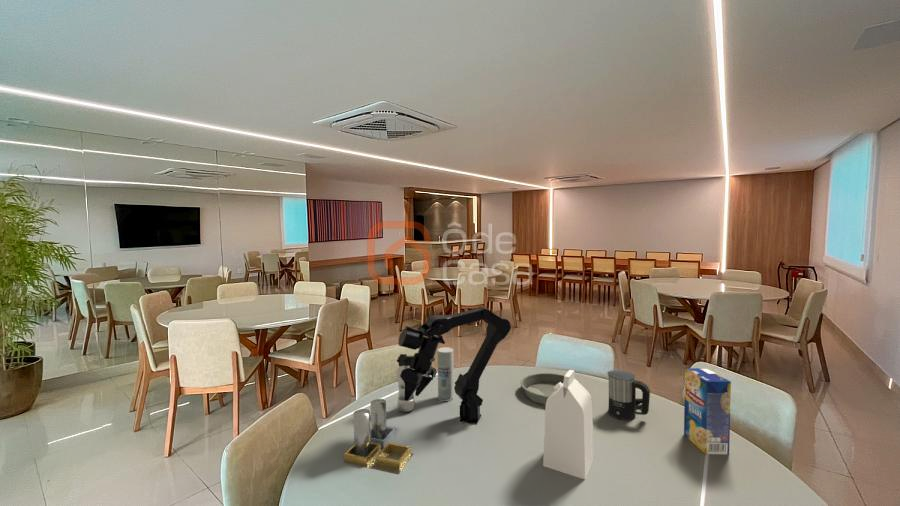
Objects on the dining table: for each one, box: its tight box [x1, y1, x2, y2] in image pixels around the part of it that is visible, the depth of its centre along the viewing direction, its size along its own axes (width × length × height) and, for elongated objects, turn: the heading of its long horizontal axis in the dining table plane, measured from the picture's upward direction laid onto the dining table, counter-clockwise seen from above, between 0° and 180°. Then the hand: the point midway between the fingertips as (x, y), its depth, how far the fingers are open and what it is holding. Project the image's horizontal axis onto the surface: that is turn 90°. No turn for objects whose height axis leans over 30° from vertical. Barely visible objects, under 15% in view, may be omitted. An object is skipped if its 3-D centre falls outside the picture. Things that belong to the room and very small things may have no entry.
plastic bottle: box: [396, 365, 416, 413], centre depth 139 cm, size 6×7×20 cm
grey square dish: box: [371, 426, 396, 448], centre depth 118 cm, size 8×8×3 cm
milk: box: [542, 369, 595, 480], centre depth 106 cm, size 12×12×26 cm
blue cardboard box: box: [683, 367, 732, 455], centre depth 114 cm, size 7×11×22 cm, turn 177°
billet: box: [370, 398, 388, 440], centre depth 118 cm, size 5×5×13 cm
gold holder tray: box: [342, 442, 414, 475], centre depth 108 cm, size 18×10×3 cm, turn 71°
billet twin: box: [352, 408, 371, 457], centre depth 109 cm, size 5×5×13 cm
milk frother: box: [607, 369, 651, 421], centre depth 136 cm, size 14×16×15 cm
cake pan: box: [520, 372, 565, 406], centre depth 152 cm, size 25×25×4 cm
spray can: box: [436, 346, 455, 402], centre depth 148 cm, size 6×6×20 cm
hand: (411, 398), depth 123 cm, fingers open, 9 cm apart
